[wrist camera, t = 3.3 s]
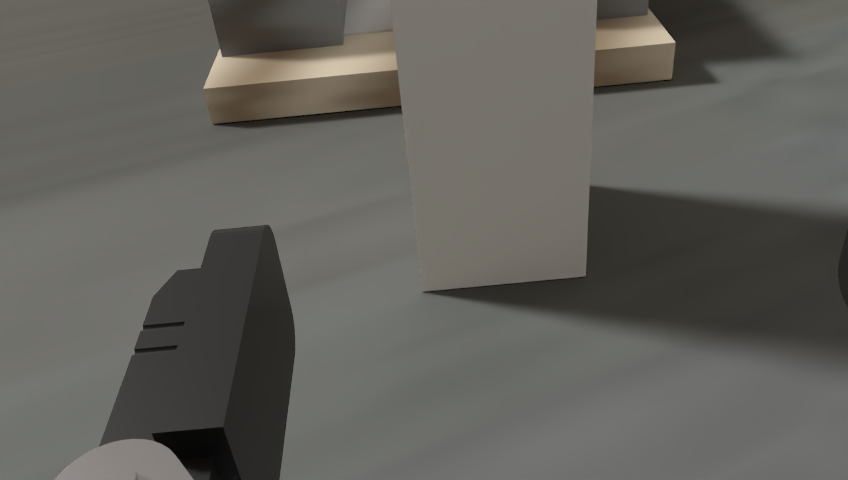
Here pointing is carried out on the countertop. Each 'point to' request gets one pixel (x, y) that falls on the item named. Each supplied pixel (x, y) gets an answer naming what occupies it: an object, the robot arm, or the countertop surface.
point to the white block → (497, 136)
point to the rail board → (372, 55)
